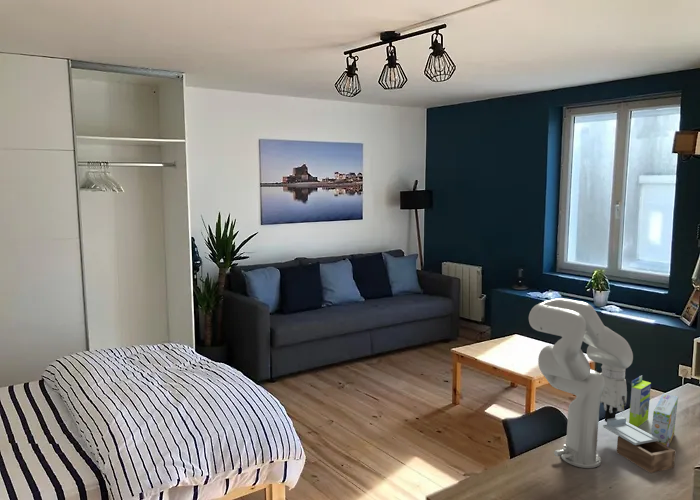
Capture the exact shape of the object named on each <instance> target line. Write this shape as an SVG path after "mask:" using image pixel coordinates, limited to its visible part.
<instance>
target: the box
mask: <svg viewBox="0 0 700 500" xmlns="http://www.w3.org/2000/svg"><path fill="white" fill-rule="evenodd" d="M630 388H631V391H630V402H629V403H630V404H629V417H628V423H630V424H632V425H634V426H636V427H638V428H639V427H640V426H641V425H643V424H644V423H645V422H646V421H648V420H649V412H650V400H651V399H650V398H651V388H652V382H649V381H646V380H643V375H639V376H638V377H636V378H635V379H632V380H631V387H630Z"/></svg>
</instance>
